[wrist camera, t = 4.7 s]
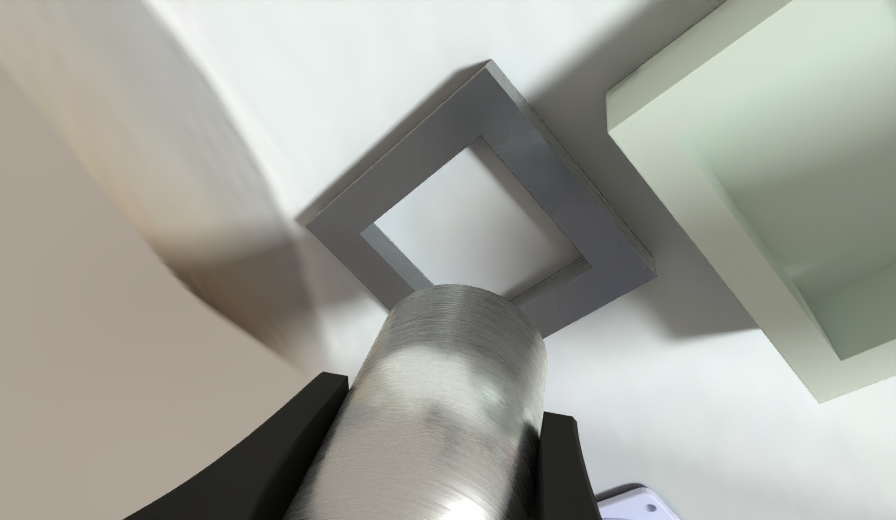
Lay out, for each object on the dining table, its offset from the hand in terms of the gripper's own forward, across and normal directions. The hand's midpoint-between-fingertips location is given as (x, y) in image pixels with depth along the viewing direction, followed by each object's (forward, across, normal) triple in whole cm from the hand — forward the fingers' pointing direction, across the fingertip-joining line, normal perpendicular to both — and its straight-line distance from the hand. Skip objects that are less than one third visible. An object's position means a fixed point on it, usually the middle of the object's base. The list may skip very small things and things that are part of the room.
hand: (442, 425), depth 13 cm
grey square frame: (+10, +1, 0) cm, 10 cm away
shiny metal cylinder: (+2, 0, 0) cm, 2 cm away
